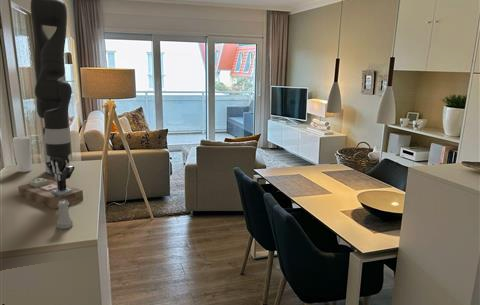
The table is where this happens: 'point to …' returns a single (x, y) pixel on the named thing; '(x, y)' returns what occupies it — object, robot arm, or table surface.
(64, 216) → the rook chess piece
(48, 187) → the one-pip button
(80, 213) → the table surface
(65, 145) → the robot arm
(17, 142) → the drinking glass
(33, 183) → the three-pip button
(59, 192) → the two-pip button
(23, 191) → the button panel
